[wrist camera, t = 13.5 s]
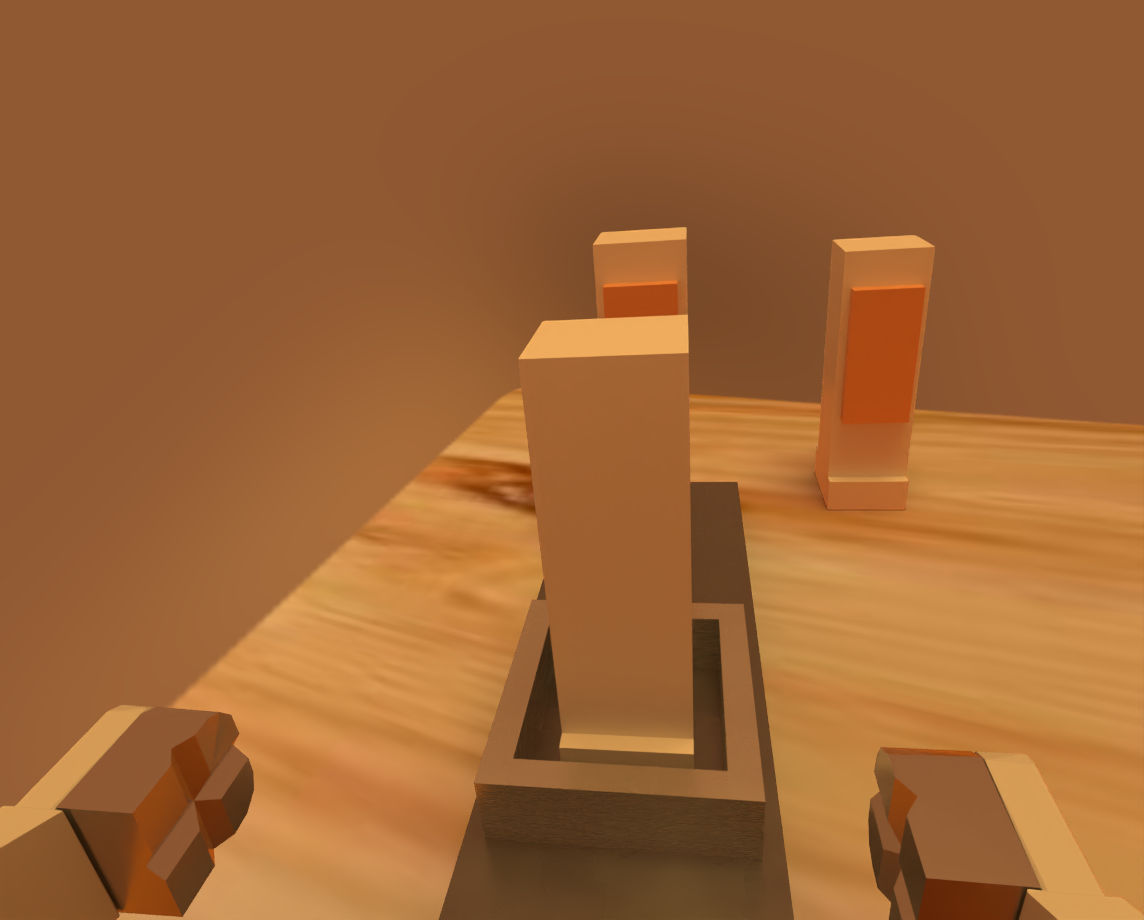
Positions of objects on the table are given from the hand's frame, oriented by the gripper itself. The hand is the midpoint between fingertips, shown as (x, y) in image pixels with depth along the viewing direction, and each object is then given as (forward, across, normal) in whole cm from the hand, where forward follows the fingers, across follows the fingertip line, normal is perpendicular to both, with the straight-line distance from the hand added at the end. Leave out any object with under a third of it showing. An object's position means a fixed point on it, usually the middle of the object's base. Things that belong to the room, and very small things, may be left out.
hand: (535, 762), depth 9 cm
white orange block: (+27, -10, +11) cm, 31 cm away
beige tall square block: (+9, 0, +9) cm, 13 cm away
